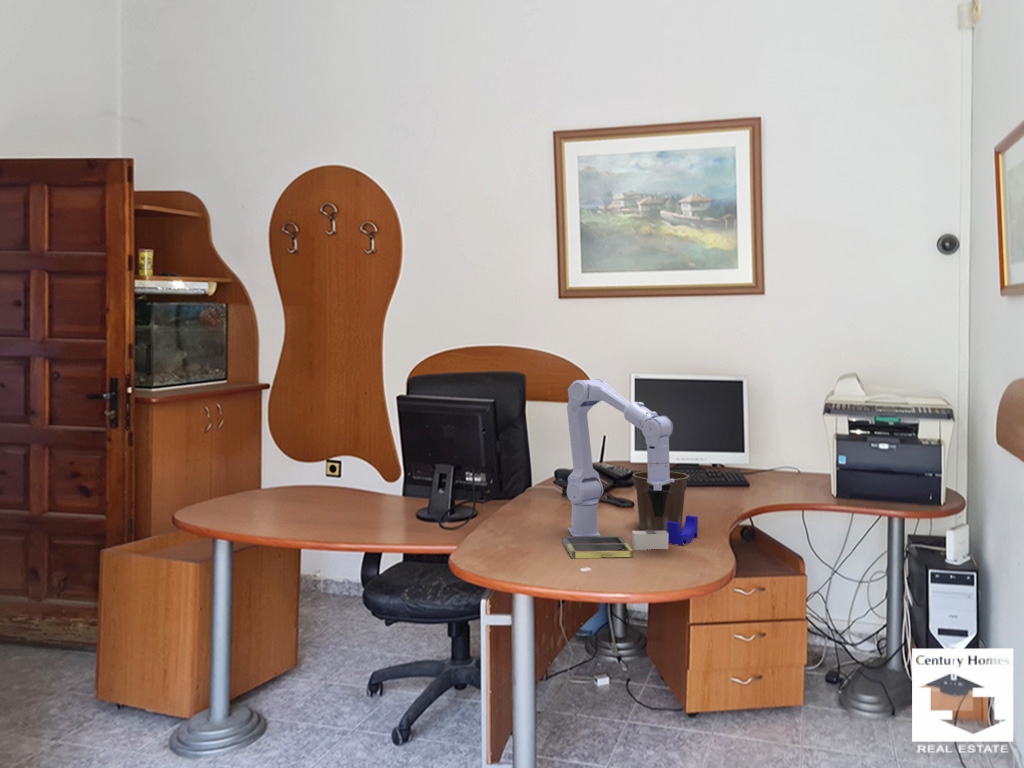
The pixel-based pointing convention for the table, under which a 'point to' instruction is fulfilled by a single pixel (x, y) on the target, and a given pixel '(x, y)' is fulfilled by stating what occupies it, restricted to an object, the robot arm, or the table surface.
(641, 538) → the white banded pillar
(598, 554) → the rack
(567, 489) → the robot arm
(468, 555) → the table surface
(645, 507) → the plant pot
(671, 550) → the table surface
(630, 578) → the table surface
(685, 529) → the cable clip
